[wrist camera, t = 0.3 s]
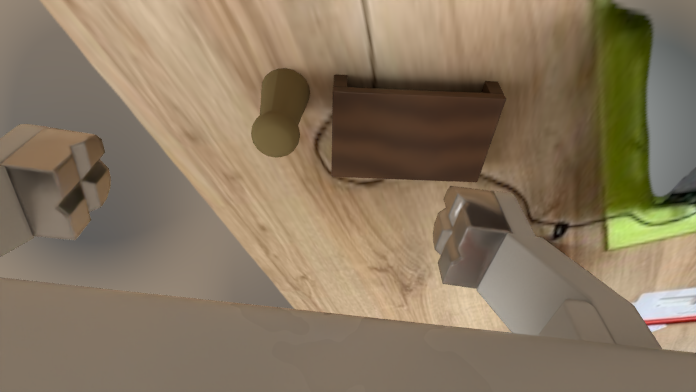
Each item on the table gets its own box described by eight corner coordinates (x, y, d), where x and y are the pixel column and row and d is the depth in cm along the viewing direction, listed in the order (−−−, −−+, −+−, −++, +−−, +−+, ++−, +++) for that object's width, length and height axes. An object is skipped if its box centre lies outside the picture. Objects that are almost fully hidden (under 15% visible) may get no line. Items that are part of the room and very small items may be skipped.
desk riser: (334, 74, 50) (332, 91, 47) (497, 81, 50) (506, 98, 48) (332, 158, 59) (331, 176, 56) (471, 163, 60) (477, 182, 57)
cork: (309, 113, 54) (301, 168, 46) (262, 109, 54) (246, 163, 46) (310, 71, 50) (302, 122, 42) (260, 66, 49) (242, 117, 42)
